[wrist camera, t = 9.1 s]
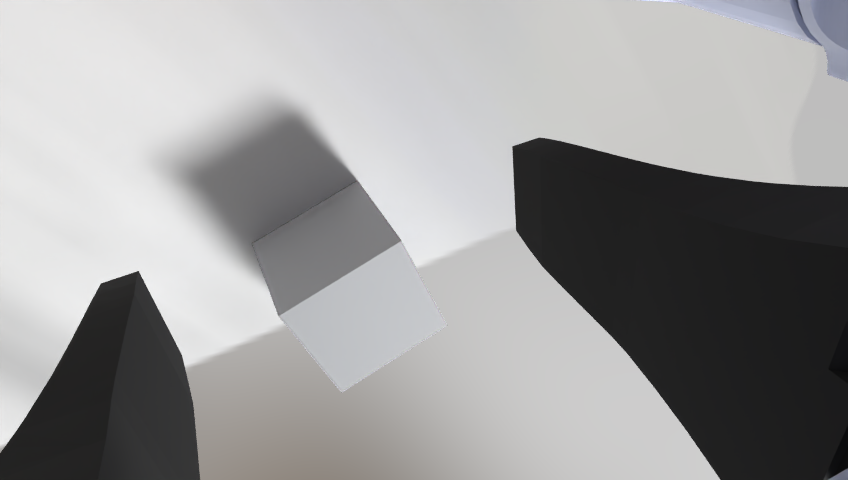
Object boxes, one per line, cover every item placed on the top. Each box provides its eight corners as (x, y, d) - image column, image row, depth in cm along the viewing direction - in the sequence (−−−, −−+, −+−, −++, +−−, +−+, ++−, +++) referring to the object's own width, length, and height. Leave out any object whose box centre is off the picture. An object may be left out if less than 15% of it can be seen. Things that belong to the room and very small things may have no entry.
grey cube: (357, 179, 23) (401, 240, 20) (402, 259, 26) (447, 325, 23) (251, 242, 23) (278, 316, 19) (309, 317, 26) (341, 393, 22)
